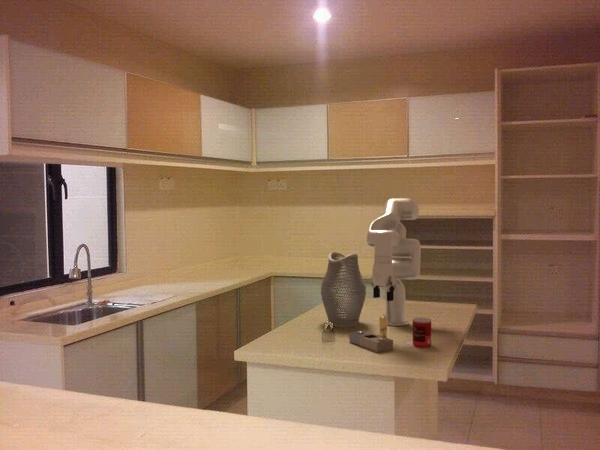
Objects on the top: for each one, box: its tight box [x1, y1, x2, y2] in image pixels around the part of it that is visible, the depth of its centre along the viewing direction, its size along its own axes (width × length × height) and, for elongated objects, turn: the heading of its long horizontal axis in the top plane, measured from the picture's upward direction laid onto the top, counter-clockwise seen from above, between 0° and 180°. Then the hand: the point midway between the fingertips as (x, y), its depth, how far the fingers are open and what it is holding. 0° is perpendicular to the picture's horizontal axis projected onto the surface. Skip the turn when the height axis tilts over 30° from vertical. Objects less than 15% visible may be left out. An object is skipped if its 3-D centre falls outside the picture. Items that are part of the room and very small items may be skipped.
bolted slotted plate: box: [349, 330, 394, 353], centre depth 242 cm, size 20×8×5 cm, turn 28°
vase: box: [320, 251, 367, 328], centre depth 286 cm, size 22×22×35 cm
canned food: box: [412, 317, 432, 349], centre depth 242 cm, size 8×8×11 cm
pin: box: [379, 315, 388, 338], centre depth 253 cm, size 3×3×10 cm
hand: (383, 299), depth 252 cm, fingers open, 9 cm apart
